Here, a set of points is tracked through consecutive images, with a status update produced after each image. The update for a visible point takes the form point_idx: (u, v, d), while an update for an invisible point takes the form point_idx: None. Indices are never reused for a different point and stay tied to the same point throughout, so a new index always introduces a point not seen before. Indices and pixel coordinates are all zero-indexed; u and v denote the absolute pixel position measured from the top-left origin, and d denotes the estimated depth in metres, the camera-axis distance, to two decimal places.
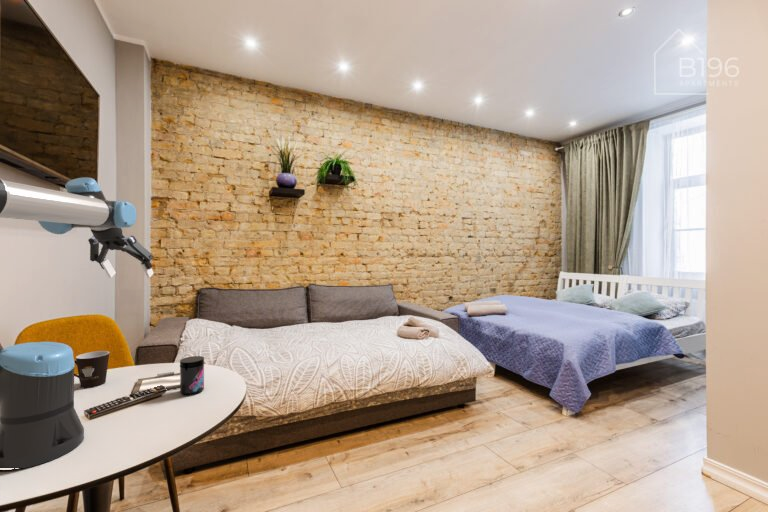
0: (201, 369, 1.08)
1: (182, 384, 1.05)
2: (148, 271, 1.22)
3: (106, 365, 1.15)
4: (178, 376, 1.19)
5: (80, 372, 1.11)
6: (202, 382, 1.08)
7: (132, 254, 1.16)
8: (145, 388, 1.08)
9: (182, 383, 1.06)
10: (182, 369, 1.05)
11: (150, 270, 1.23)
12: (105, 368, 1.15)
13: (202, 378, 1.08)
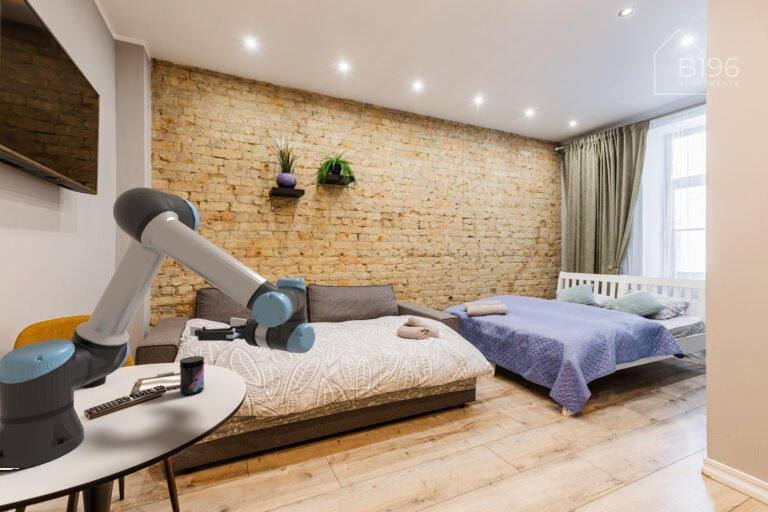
0: (201, 369, 1.08)
1: (182, 384, 1.05)
2: (195, 329, 0.97)
3: None
4: (178, 376, 1.19)
5: None
6: (202, 382, 1.08)
7: (220, 328, 0.95)
8: (145, 388, 1.08)
9: (182, 383, 1.06)
10: (182, 369, 1.05)
11: (194, 333, 0.97)
12: None
13: (202, 378, 1.08)
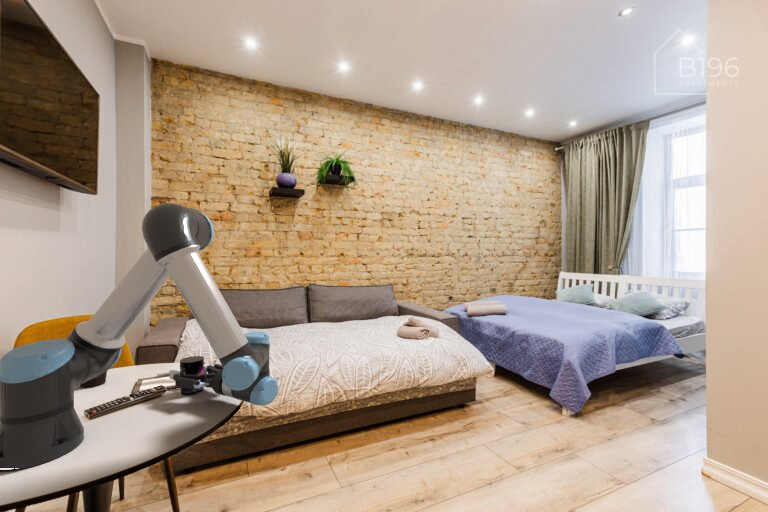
0: (201, 369, 1.08)
1: None
2: (174, 373, 1.06)
3: None
4: None
5: None
6: None
7: (194, 375, 1.03)
8: (145, 388, 1.08)
9: None
10: (182, 369, 1.05)
11: (173, 376, 1.06)
12: None
13: None
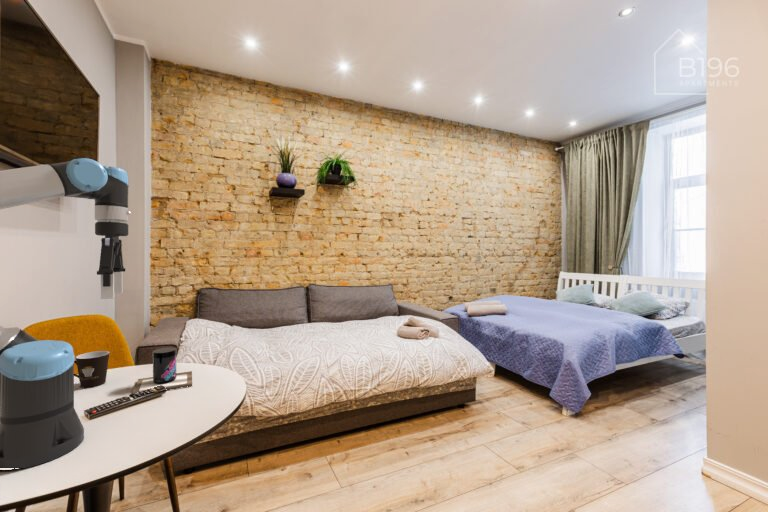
0: (173, 359, 1.14)
1: (155, 373, 1.12)
2: (104, 290, 0.92)
3: (106, 365, 1.15)
4: (178, 376, 1.19)
5: (80, 372, 1.11)
6: (174, 372, 1.15)
7: None
8: (145, 388, 1.08)
9: (154, 372, 1.12)
10: (154, 359, 1.12)
11: (109, 291, 0.92)
12: (105, 368, 1.15)
13: (174, 368, 1.15)
